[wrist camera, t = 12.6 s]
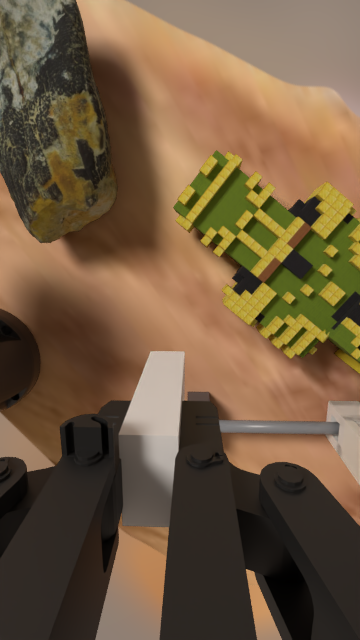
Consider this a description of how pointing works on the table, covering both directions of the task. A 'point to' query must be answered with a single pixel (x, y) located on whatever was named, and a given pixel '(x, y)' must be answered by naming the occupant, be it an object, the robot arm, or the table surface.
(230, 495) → the robot arm
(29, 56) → the stone
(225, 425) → the rail
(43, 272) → the table surface
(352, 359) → the toy
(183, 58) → the table surface
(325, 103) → the table surface
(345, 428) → the cream l-shaped block
